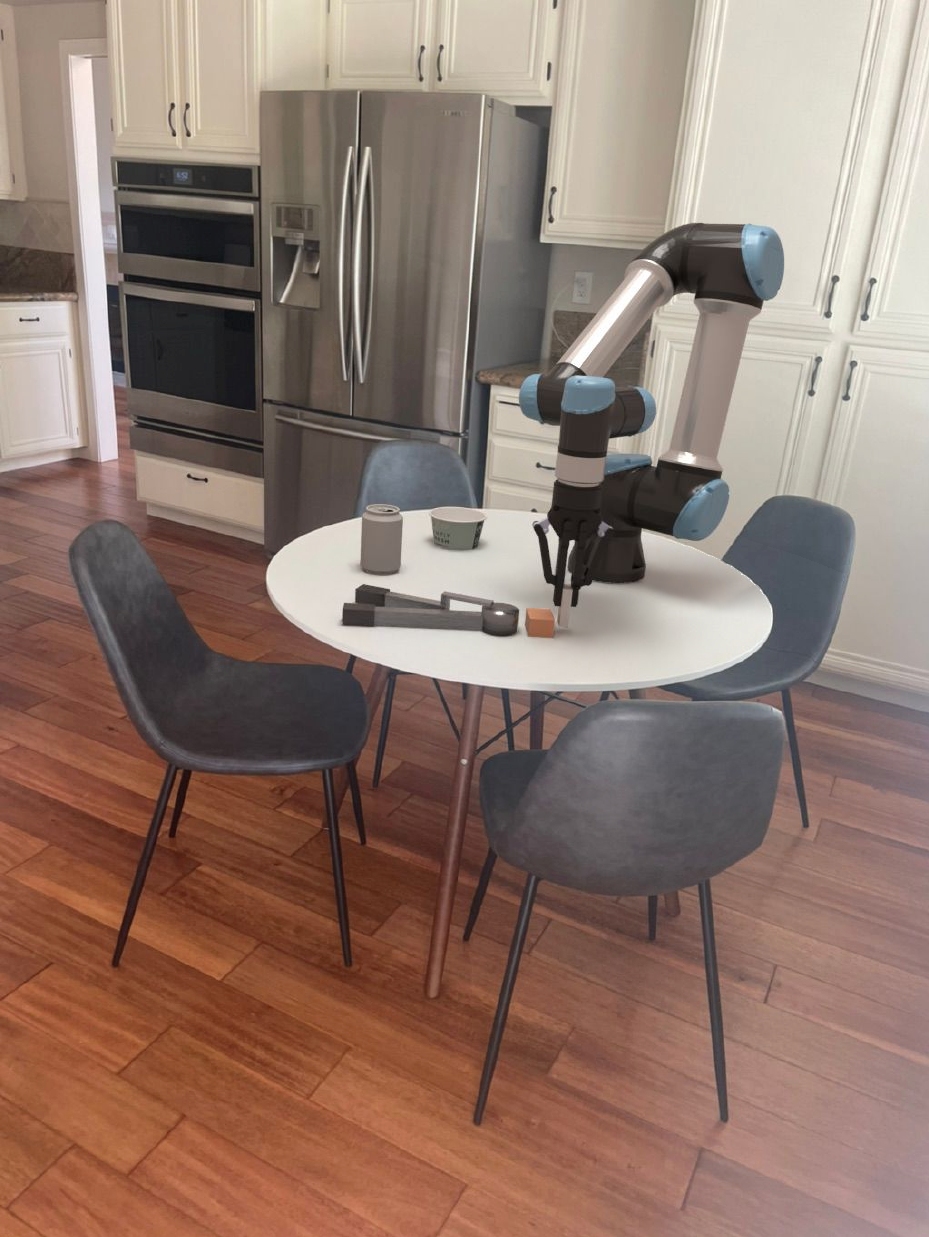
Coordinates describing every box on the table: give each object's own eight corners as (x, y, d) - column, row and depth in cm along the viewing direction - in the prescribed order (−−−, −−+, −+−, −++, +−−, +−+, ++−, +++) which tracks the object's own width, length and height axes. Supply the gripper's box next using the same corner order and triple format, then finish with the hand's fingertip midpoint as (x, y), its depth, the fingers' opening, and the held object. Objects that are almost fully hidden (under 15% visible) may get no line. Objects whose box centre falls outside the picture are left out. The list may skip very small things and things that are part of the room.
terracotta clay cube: (548, 626, 155) (550, 609, 154) (553, 637, 150) (555, 620, 149) (524, 625, 154) (526, 607, 153) (528, 636, 150) (529, 618, 149)
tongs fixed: (515, 623, 155) (517, 603, 153) (519, 637, 149) (521, 616, 148) (344, 615, 153) (344, 594, 151) (341, 628, 147) (342, 607, 146)
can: (394, 578, 172) (397, 514, 168) (355, 572, 174) (357, 509, 169) (404, 566, 179) (407, 505, 175) (366, 561, 180) (369, 500, 176)
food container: (415, 543, 194) (417, 512, 192) (449, 533, 204) (451, 503, 202) (463, 556, 188) (465, 524, 186) (495, 545, 198) (498, 514, 195)
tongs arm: (493, 623, 153) (495, 599, 152) (487, 628, 151) (489, 604, 149) (362, 597, 160) (363, 574, 159) (355, 602, 158) (355, 579, 156)
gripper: (616, 478, 148) (598, 618, 156) (533, 473, 147) (520, 614, 155) (625, 489, 141) (606, 635, 149) (539, 484, 140) (524, 631, 148)
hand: (562, 624), depth 152 cm, fingers closed
